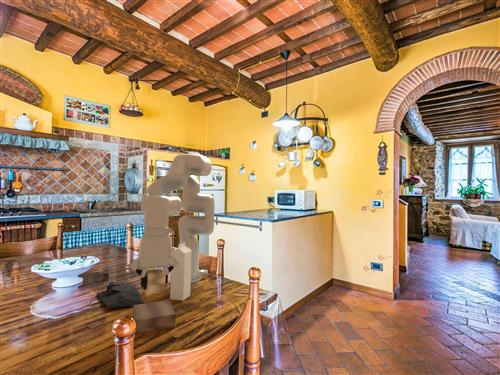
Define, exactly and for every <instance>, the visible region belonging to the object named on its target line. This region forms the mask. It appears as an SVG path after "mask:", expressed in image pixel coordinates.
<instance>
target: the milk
mask: <svg viewBox="0 0 500 375" xmlns="http://www.w3.org/2000/svg"><path fill="white" fill-rule="evenodd" d="M191 253H192V250H191V249H189V248H188V247H187V246H186V243H185V242H184V243H182V244H180V243H179V244H178V245H177V249H175V250H173V251H172V256H173V257H174V258H175V259H176V260H177V261H178V262H179V263H178V265H177V266H176V267H174V269H173V270H172V271H171V272H170V285H169V286H170V287H169V288H170V292H169V295H170V296H169V300H174V301H182V302H184V301H185V300H186V299H187V298H189V297H190V296H191V284H192V283H191ZM172 263H173V261H172V262H171V264H172Z"/></svg>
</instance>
